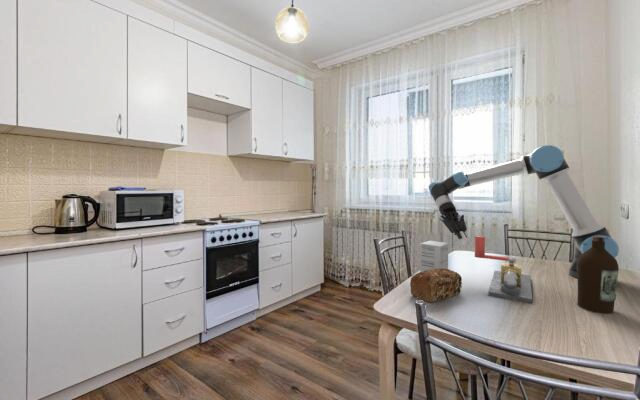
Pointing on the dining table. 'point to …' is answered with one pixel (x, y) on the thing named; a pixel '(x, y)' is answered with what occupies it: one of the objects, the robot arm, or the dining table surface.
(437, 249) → the supplement box
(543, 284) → the dining table surface
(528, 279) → the valve pipe
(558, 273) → the dining table surface
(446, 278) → the bread
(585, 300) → the olive oil
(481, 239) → the lever
